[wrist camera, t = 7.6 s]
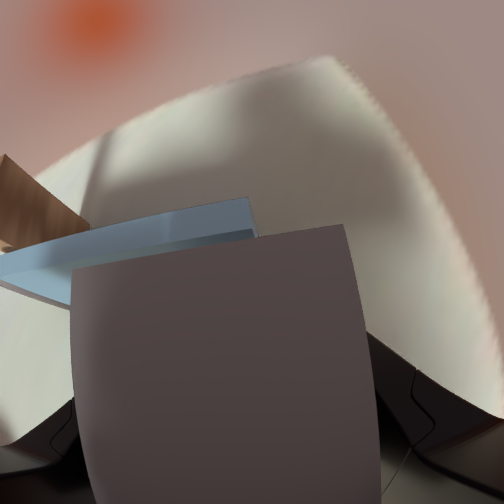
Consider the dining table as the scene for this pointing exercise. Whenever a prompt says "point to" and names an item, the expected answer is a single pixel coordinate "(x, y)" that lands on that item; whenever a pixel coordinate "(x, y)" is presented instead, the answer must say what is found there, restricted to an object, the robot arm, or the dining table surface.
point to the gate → (121, 246)
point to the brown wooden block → (31, 211)
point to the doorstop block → (227, 375)
